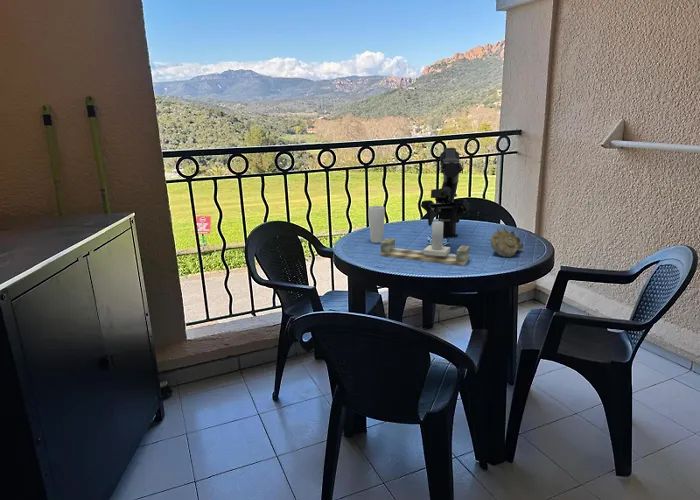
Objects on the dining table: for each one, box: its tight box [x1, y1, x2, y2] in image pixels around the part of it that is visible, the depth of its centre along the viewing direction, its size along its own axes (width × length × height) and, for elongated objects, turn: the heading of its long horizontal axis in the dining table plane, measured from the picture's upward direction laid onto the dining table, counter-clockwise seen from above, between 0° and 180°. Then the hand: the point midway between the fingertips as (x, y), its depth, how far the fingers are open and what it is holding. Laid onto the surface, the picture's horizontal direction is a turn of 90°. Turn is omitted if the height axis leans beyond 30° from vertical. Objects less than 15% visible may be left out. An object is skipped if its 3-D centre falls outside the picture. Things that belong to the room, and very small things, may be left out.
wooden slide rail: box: [379, 237, 471, 267], centre depth 164 cm, size 32×8×6 cm, turn 63°
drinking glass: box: [367, 205, 386, 244], centre depth 185 cm, size 7×7×15 cm
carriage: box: [423, 220, 451, 256], centre depth 160 cm, size 8×7×12 cm
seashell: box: [490, 227, 524, 258], centre depth 166 cm, size 11×14×10 cm
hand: (439, 225), depth 168 cm, fingers open, 9 cm apart
